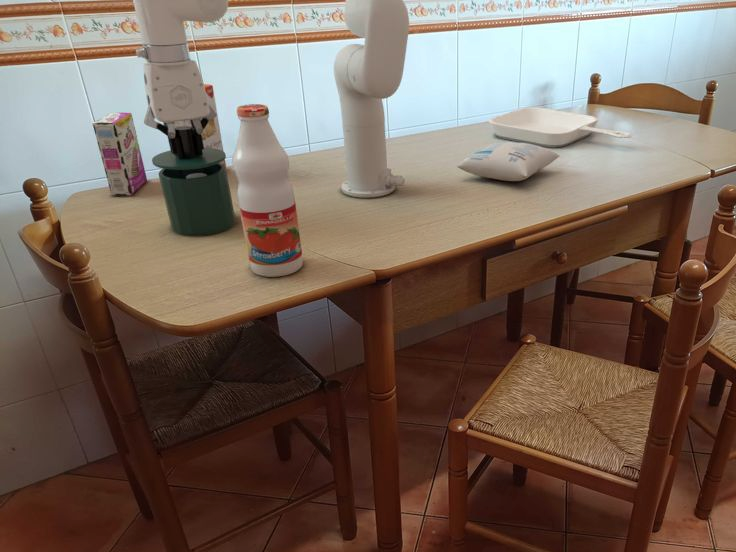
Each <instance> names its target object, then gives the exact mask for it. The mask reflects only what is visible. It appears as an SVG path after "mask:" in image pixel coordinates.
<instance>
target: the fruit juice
mask: <svg viewBox="0 0 736 552" xmlns="http://www.w3.org/2000/svg"><path fill="white" fill-rule="evenodd" d="M236 116H237V118H238V120H239V122H240V125H239V129H238V137H237V141H236V142H237V143H236V147H235V149H234V152H233V154H232V159H231V162H232V163H231V164H232V168H233V172H234V174H235V176H236V178H237V181H238V185H237V190H236V194H237V202H238V207H239V212H240V218H241V224H242V225H241V226H242V229H243V235H244V240H245V247H246V251H247V258H248V262H249V266H250V269H251V271H252V272H253V273H254V274H255V275H257V276H261V277H264V278H265V277H267V278H277V277H278V278H279V277H284V276H288V275H291V274H294V273H296V272H298V271H299V270H300V269H301V268H302V267H303V264H304V256H303V249H302V242H301V235H300V227H299V219H298V212H297V203H296V196H295V191H294V188H293V185H292V182H291V181H290V179H289V171H290V160H289V156H288V155H289V154H288V153H287V151H286V150H285V149H284V148H283V146H282V145H281V143H280V141H279V140H278V138H277V137H278V136H277V135H276V134H275V131H274V128H272V125H271V124H270V121H269V117H270V110H269V107H268V106H267V104H261V103H249V104H243V105H240V106H237V107H236Z"/></svg>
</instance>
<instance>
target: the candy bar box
mask: <svg viewBox="0 0 736 552" xmlns="http://www.w3.org/2000/svg"><path fill="white" fill-rule="evenodd" d="M92 127H93V132H94V134H95V135H94V136H95V138H96V142H97V146H98V150H99V155H100V157H101V161H102V163H103V169H104V172H105V176H106V180H107V183H108V187H109V191H110V195H111V197H131V196H133V195H135V193H136V192H138V191H139V190H140V189H141V188H142V187H143V186H144V185H145V184H147V182H148V178H147V174H146V169H145V165H144V161H143V157H142V152H141V149H140V144H139V139H138V135H137V130H136V127H135V122H134V119H133V114H132V112H110V113H108V114H107V115H105V116H103V117H101V118H99V119H98V120H96V121H94V122H92Z"/></svg>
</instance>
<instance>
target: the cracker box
mask: <svg viewBox="0 0 736 552" xmlns="http://www.w3.org/2000/svg"><path fill="white" fill-rule="evenodd" d="M203 84H204V87H205V91H206V95H207V99H208V103H209V105H210V106H211V108H212V109H213V110H214V111H215V113H216V117H215V118H213V119H212V120H211V121H209V122H208V124H207V125H206V127H205V128H204V130H203V133H202V134H201V135H202V140H203V145H204V148H214V149H219V150H222V151H223V152H225V151H224V145H223V140H222V134H221V128H220V121H219V115H218V110H217V104H216V97H215V92H214V86H213V85H212V84H209V83H208V84H207V83H203ZM174 126H175V128H176V127H180V126H191V124H190V121H189V120H184V121H176V122H174ZM220 163H221V164H223V165H224V166H225V167H226V170H227V163H226V159H225V160H224V161H222V162H220Z"/></svg>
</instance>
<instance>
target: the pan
mask: <svg viewBox="0 0 736 552" xmlns="http://www.w3.org/2000/svg"><path fill="white" fill-rule="evenodd" d="M598 121H599V119H598V117H595V116H594V115H593V116H592V115H588V114H582V113H576V112H570V111H563V110H556V109H551V108H543V107H531V106H530V107H521V108H519V109H516V110H512V111H510V112H507V113H503V114H500V115H498V116H495V117H492V118H490V119H489V120H488V123H489V125H490V126H491V128H492V130H493V133H494V135H495V136H496V137H497V138H498V139H502V140H506V141H511V142H520V143H527V144H532V145H537V146H540V147H544V148H563V147H566V146H568V145H571V144H573V143H575V142H578V141H579V140H582V139H584V138H587V137H588V136H589V135H590V134H591V133H598V134H601V135H603V134H604V135H607V136H610V137H614V138H619V139H630V138H632V137H633V134H632V133H631V132H628V131H623V130H611V129H604V128H597V127H595V126H596V125H597V123H598Z"/></svg>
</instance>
